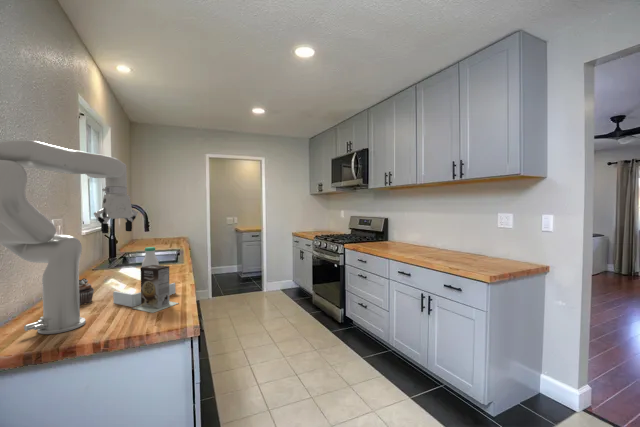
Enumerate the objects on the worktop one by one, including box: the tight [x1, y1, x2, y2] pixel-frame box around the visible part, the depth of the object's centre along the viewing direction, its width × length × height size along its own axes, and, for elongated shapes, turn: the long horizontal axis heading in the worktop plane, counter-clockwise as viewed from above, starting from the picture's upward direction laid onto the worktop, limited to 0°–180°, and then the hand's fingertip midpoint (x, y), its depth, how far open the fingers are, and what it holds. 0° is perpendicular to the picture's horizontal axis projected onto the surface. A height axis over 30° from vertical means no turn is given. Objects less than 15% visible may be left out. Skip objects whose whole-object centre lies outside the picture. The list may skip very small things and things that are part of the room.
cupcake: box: [79, 277, 95, 306], centre depth 131 cm, size 10×10×10 cm
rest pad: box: [131, 300, 180, 314], centre depth 126 cm, size 12×12×1 cm
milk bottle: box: [141, 246, 160, 267], centre depth 156 cm, size 8×8×20 cm
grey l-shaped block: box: [112, 282, 176, 308], centre depth 137 cm, size 21×12×5 cm, turn 156°
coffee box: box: [140, 264, 170, 309], centre depth 126 cm, size 9×6×16 cm
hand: (117, 232), depth 129 cm, fingers open, 9 cm apart
